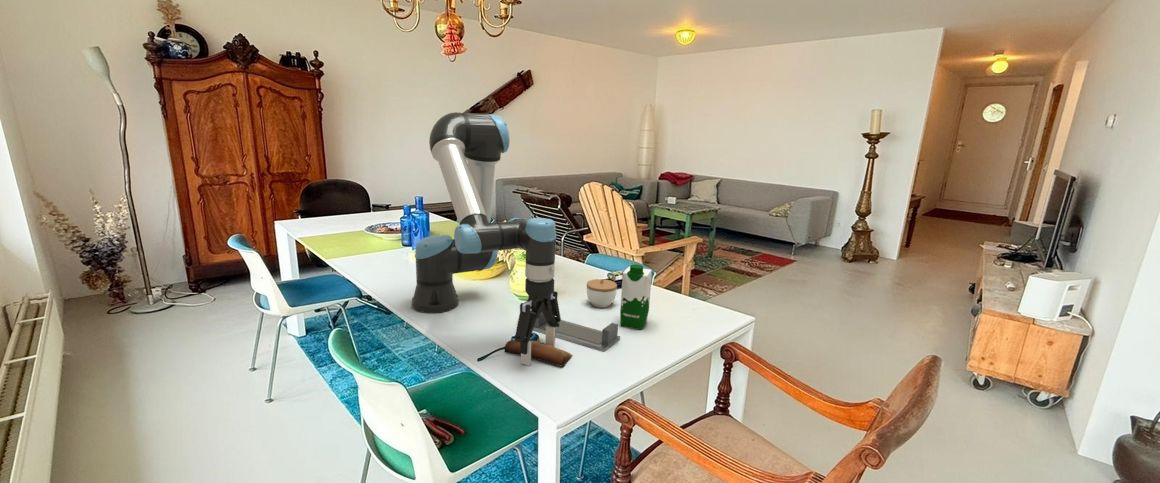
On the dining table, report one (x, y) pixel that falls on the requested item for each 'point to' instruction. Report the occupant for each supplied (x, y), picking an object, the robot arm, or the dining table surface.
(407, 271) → the dining table surface
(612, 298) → the lidded jar
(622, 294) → the milk carton
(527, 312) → the robot arm
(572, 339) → the motor mount
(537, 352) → the sunglasses case
